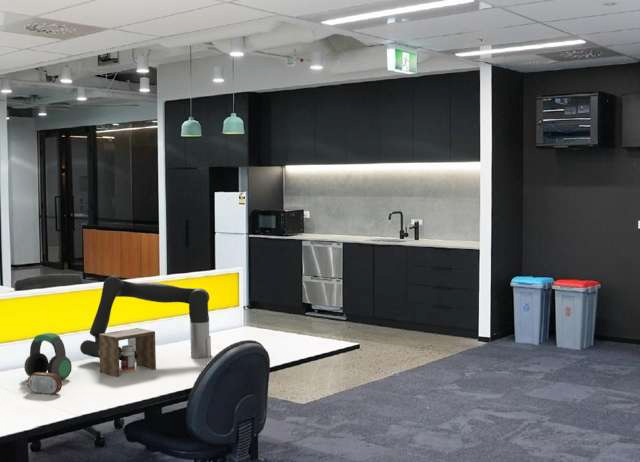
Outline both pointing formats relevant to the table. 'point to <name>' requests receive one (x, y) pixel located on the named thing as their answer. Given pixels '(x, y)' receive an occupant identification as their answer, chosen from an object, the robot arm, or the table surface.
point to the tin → (44, 383)
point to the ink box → (132, 343)
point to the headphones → (40, 362)
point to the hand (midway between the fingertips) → (130, 357)
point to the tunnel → (111, 349)
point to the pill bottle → (128, 359)
